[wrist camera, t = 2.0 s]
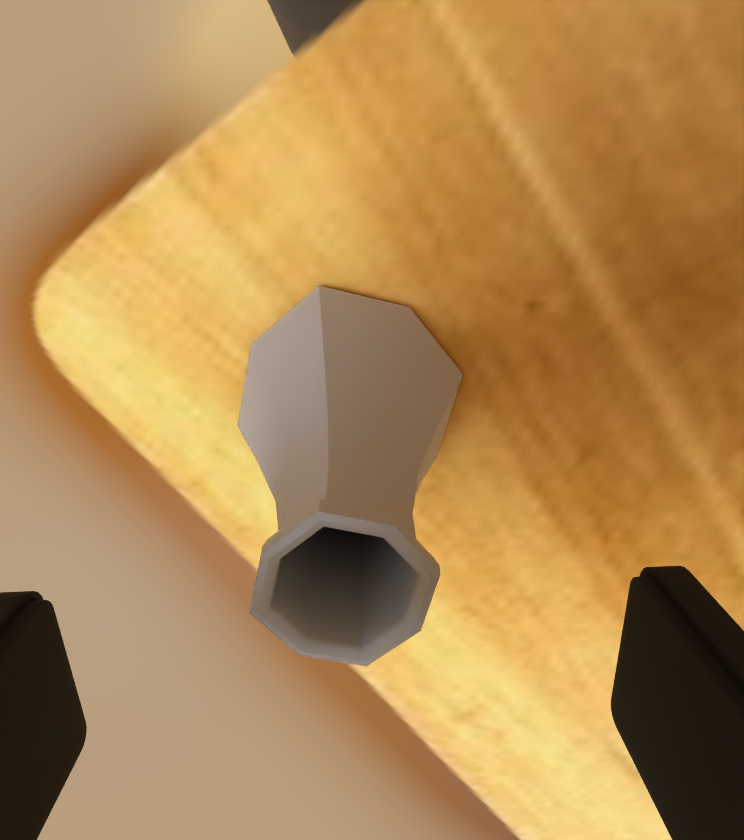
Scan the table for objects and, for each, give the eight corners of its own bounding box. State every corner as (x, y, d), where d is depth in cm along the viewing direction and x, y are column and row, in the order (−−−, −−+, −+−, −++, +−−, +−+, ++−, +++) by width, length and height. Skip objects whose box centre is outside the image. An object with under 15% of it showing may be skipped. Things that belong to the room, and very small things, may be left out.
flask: (203, 430, 19) (63, 653, 10) (308, 241, 17) (253, 303, 8) (382, 523, 21) (404, 790, 12) (499, 362, 19) (642, 533, 9)
